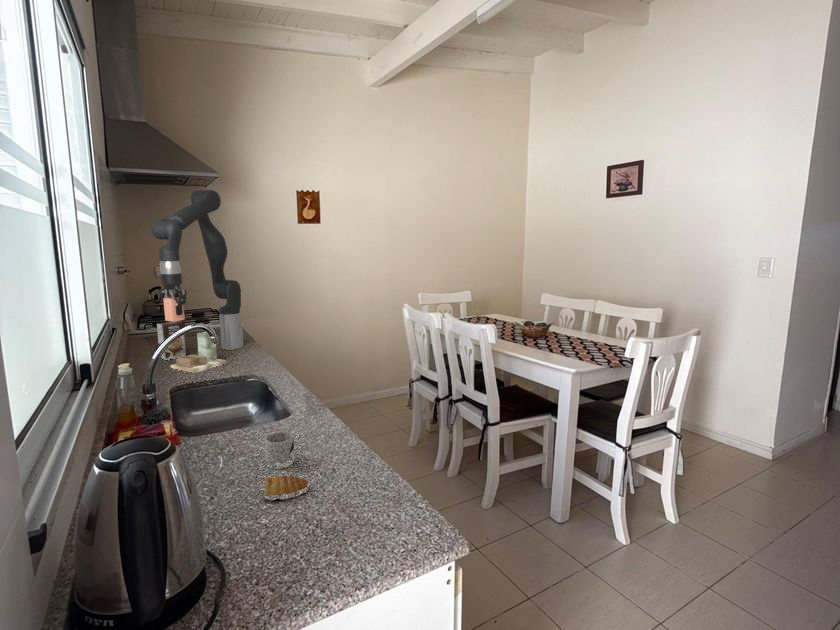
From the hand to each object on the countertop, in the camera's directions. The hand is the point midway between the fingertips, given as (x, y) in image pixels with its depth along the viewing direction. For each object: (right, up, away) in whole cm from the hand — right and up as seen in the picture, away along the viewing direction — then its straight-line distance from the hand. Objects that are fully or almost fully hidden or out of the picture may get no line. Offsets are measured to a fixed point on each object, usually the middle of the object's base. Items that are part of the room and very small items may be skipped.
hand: (174, 314), depth 194 cm
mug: (+64, -36, -76) cm, 106 cm away
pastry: (+70, -39, -91) cm, 121 cm away
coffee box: (-12, -20, +21) cm, 31 cm away
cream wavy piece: (+6, -22, +8) cm, 24 cm away
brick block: (0, -2, 0) cm, 2 cm away
